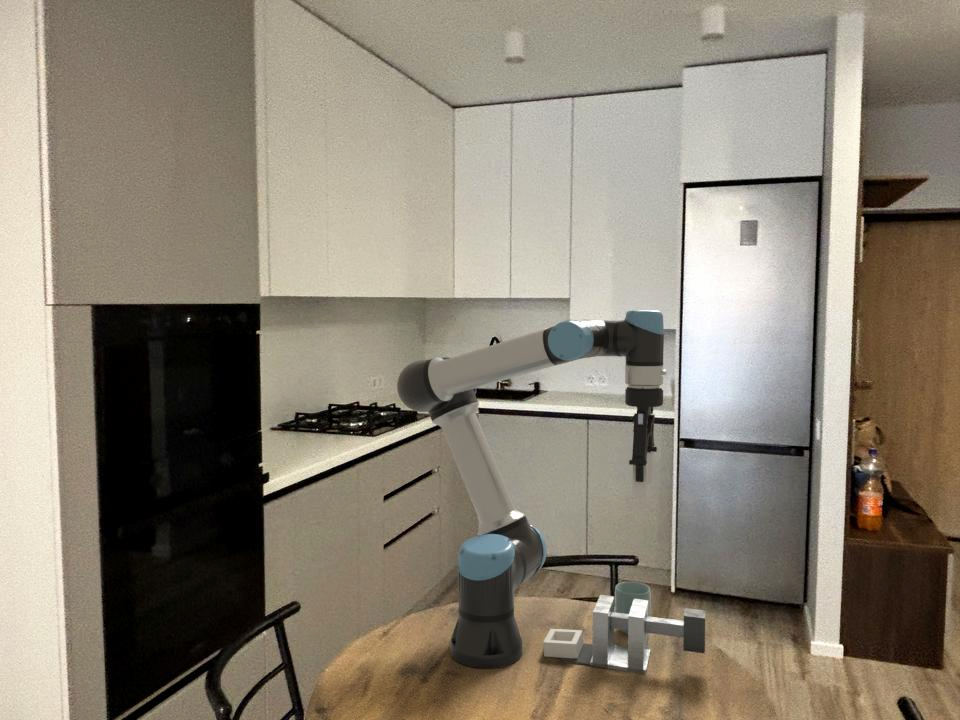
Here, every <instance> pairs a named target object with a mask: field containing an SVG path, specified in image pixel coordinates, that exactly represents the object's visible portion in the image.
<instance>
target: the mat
mask: <svg viewBox="0 0 960 720" xmlns="http://www.w3.org/2000/svg"><path fill="white" fill-rule="evenodd" d="M592 656H593V643H592V644H591V643H584V642H583V647H582V649H581V651H580V654H579V656H578V658H577V659H576V658H561V659H560V661H561V663H562V662H563V663H571V664H578V665H585V666H590V661H591V659H592Z"/></svg>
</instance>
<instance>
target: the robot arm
mask: <svg viewBox="0 0 960 720" xmlns="http://www.w3.org/2000/svg"><path fill="white" fill-rule="evenodd" d="M664 328H665V327H664V314H663V313H662V312H661V311H659V310H655V309H654V310H649V309H648V310H641V309H640V310H637V309H636V310H628V311H626V313H625V317H624V319H619V320H615V319H614V320H610V319H607V320H604V319H579V320H578V319H567V320H564V321H561V322H558V323H557V324H555V325H554V326H550V327H548V328H544V329H541V330H537V331H534V332H532V333H528V334H525V335H521V336H517V337H515V338H511V339H508V340H504V341H502V342H498V343H495V344H492V345H488V346H485V347H482V348H479V349H476V350H472V351H469V352H465V353H463V354H459V355H455V356H452V357H433V358H430V359H422V360H416V361H413V362H411V363H409V364H407V365H406V366H405V367H404V368H403V369H402V370H401V372H400V373H399V376H398V377H397V383H396V388H397V389H396V390H397V394H398V397H399V399H400V401H401V402H402V403H403V405H405V406H406V407H407V408H408V409H410V410H412V411H415V412H419V413H420V412H421V413H428V415H429V417H430V420H431V422H432V424H434V425H436V426H439V427H440V428H441V430H442V432H443V435H444V437H445V440H446V443H447V444H448V446H449V450H450V452H451V454H452V456H453V459H454V462H455V464H456V466H457V469H458V471H459V474H460V476H461V479H462V481H463V484H464V486H465V488H466V492H467V494H468V496H469V499H470V501H471V504H472V506H473V507H474V508H473V509H474V511H475V513H476V516H477V518H478V521H479V523H480V527H479V529H478V532H477V535H475V536H472V537H470V538H468V539H466V540H465V541H463V542H462V544H461V545H460V547H459V550H458V558H457V565H456V566H457V579H458V580H457V584H458V585H457V586H458V587H457V588H458V590H457V592H458V601H457V602H458V617H457V620H456V623H455V626H454V628H453V632H452V635H451V639H450V641H449V642H450V645H449V646H450V649H449V650H450V656H451V657H452V658H453V659H454V660H455V661H456V662H458V663H460V664H462V665H464V666H466V667H467V666H468V667H470V668H471V667H472V668H477V669H478V668H479V669H494V668H502V667H505V666H509V665H512V664H514V663H515V662H516V661H518V660H520V658H521V657H522V655H523V639H522V637H521V634H520V630H519V627H518V624H517V621H516V617H515V590H516V589H517V588H519V587H520V586H521V585H523V584H524V583H526V582H527V581H528V580H530V579H532V578H533V577H534V576H536V575H537V574H538V573H539V571H540V570H541V569H542V567H543V565H544V564H545V562H546V558H547V551H548V550H547V543H546V540H545V538H544V536H543V534H542V532H541V531H540V530H539V529H538V528H537V527H534V526H533V525H532V524H530V523H529V520H528V519H527V516H526V514H525V513H523V512H521V511H519V510H517V509H516V506H515V505H514V502H513V500H512V497H511V495H510V492H509V490H508V488H507V485H506V483H505V481H504V478H503V476H502V473H501V471H500V468H499V466H498V464H497V461H496V459H495V456H494V455H493V452H492V449H491V447H490V445H489V442H488V440H487V437H486V435H485V433H484V430H483V428H482V425H481V424H480V421H479V418H478V415H477V409H478V407H479V405H480V404H479V402H478V399H477V396H476V394H477V388H480V387H485V386H489V385H491V384H495V383H498V382H499V383H500V382H502V381H505V380H509V379H512V378H516V377H520V376H523V375H526V374H530V373H533V372H537V371H542V370H544V369H548V368H552V367H555V366H558V365H563V364H566V363H570V362H573V361H578V360H581V359H587V358H588V359H589V358H595V357H621V358H622V357H625V365H624V368H625V369H624V374H625V375H624V380H625V381H624V383H625V384H626V385H627V387H625V390H624V391H625V393H624V395H625V396H624V400H625V401H624V403H625V405H626V406H629V407H636V413H634V415H632V421H633V422H632V423H633V429H632V431H633V440H632V454H631V455H632V457H631V459H629V460H628V464H629V466H630V465H631V466H632V498H636V499H648V484H654V452H655V453H657V451H658V449H657V448H658V446H656V445H655V437H654V435H655V434H654V432H655V431H654V429H655V418H656V415H655V414H654V408H658V407H662V406H663V404H664V388H663V387H662V385H663V384H664V376H666V375H667V370H666V369H664V349H665V347H664V346H665V345H664V343H665V329H664Z"/></svg>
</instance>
